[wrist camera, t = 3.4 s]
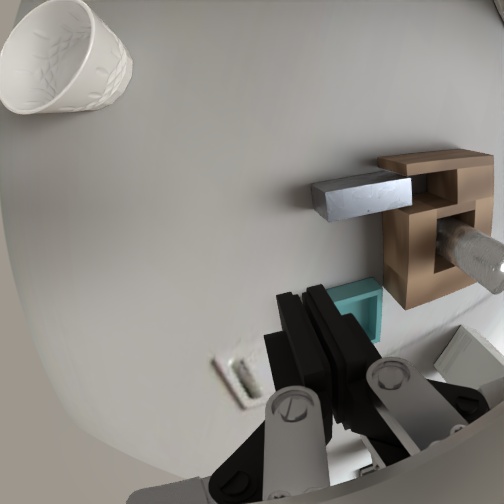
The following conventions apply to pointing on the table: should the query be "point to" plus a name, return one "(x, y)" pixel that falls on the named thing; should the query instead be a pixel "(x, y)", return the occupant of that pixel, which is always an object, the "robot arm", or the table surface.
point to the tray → (361, 304)
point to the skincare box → (470, 360)
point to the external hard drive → (367, 470)
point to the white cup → (62, 61)
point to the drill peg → (471, 252)
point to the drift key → (361, 195)
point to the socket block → (434, 221)
